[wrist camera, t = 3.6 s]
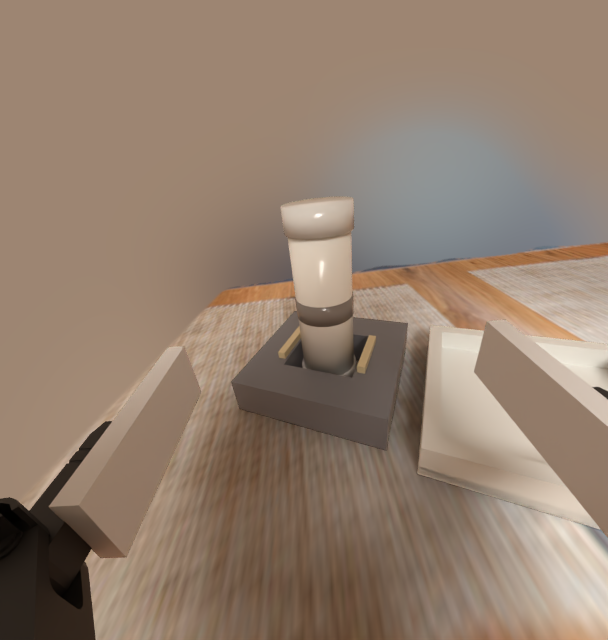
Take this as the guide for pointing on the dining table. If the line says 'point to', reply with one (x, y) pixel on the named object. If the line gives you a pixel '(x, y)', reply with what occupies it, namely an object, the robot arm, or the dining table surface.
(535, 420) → the robot arm
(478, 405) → the parts tray
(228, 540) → the dining table surface
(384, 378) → the fuse socket
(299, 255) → the cylinder
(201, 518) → the dining table surface
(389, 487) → the dining table surface
